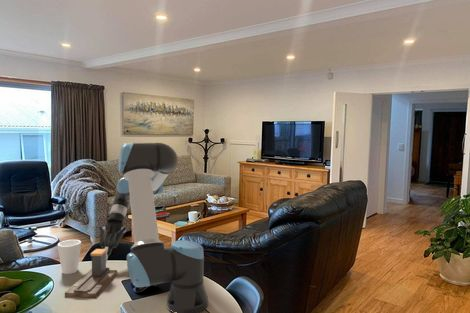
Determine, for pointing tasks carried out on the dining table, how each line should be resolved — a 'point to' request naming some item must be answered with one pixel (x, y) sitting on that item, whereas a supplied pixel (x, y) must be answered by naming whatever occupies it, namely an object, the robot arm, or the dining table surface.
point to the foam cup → (69, 255)
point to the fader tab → (98, 262)
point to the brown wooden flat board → (90, 284)
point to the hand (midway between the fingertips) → (103, 261)
